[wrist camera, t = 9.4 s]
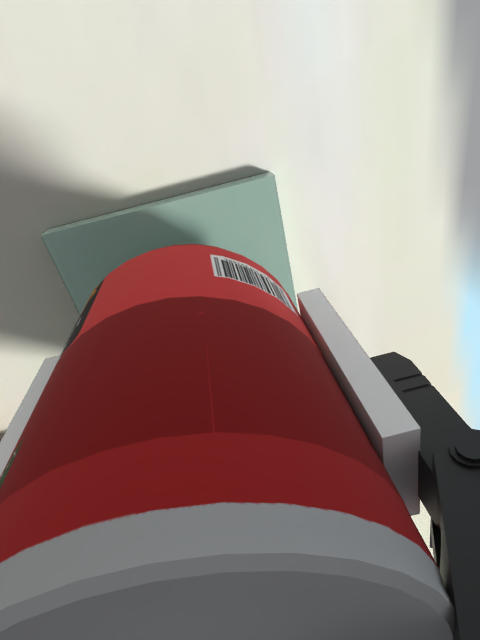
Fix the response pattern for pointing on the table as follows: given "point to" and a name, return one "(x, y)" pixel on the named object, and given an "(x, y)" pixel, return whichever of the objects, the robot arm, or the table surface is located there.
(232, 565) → the canned food
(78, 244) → the plate
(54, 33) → the table surface
